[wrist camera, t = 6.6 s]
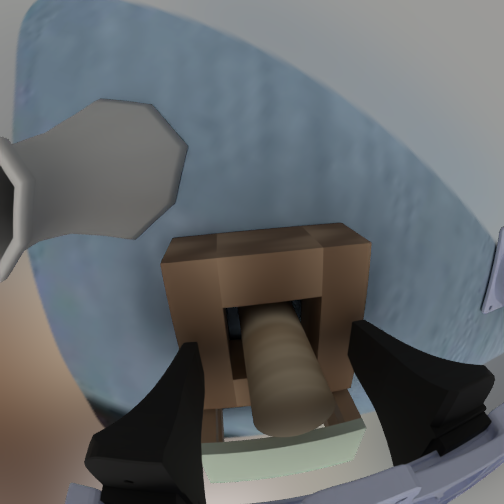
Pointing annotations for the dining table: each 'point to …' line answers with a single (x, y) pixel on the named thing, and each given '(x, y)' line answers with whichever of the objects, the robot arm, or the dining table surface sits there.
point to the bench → (281, 446)
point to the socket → (266, 296)
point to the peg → (282, 372)
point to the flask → (88, 177)
